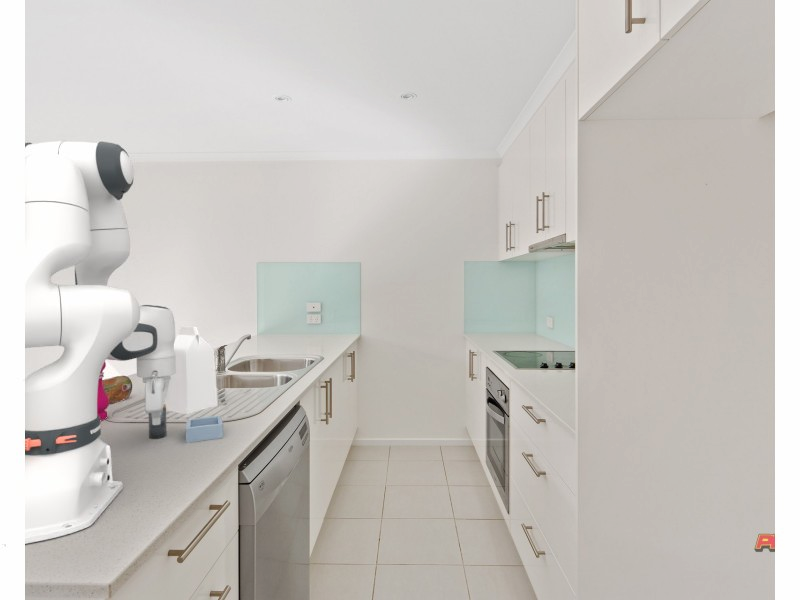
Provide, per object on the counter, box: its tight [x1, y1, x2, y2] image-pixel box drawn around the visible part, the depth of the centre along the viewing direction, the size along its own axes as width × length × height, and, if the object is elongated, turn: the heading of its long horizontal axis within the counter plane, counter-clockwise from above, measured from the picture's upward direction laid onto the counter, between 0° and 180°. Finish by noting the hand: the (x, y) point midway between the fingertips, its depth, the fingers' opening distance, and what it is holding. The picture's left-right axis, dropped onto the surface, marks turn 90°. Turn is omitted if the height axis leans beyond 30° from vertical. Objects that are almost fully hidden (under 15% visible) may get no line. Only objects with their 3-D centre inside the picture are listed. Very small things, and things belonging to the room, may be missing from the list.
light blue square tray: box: [185, 415, 224, 444], centre depth 115 cm, size 8×8×4 cm
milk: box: [164, 325, 219, 415], centre depth 141 cm, size 12×12×26 cm
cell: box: [148, 404, 168, 440], centre depth 114 cm, size 4×4×9 cm
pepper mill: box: [97, 361, 110, 421], centre depth 128 cm, size 7×7×20 cm
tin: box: [102, 375, 133, 405], centre depth 147 cm, size 15×3×8 cm, turn 167°
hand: (157, 421), depth 114 cm, fingers closed on cell, 4 cm apart
